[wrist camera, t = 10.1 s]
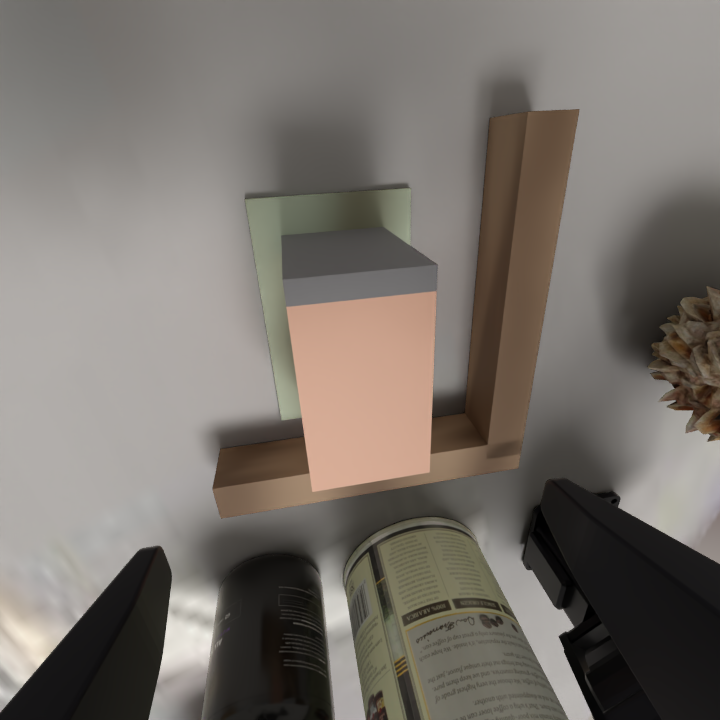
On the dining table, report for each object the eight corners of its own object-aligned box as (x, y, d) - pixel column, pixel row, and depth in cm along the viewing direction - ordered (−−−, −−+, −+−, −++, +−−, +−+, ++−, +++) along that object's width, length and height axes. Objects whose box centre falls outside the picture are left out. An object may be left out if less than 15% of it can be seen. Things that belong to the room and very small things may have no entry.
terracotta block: (386, 382, 22) (429, 472, 16) (302, 393, 21) (312, 491, 15) (383, 226, 18) (437, 264, 12) (281, 235, 17) (282, 279, 11)
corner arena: (533, 116, 17) (579, 109, 15) (493, 435, 25) (518, 468, 23) (138, 133, 15) (108, 130, 13) (227, 476, 23) (221, 518, 20)
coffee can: (480, 591, 32) (604, 859, 20) (354, 625, 32) (402, 929, 19) (479, 499, 28) (642, 779, 15) (330, 536, 27) (375, 866, 14)
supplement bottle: (200, 571, 26) (147, 855, 16) (302, 536, 26) (317, 793, 16) (244, 627, 29) (224, 893, 19) (334, 596, 30) (364, 841, 19)
